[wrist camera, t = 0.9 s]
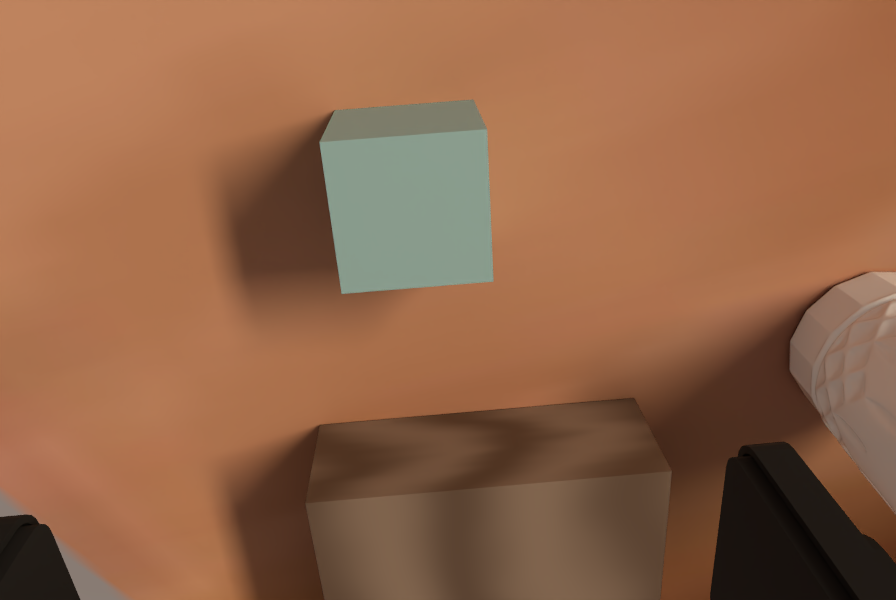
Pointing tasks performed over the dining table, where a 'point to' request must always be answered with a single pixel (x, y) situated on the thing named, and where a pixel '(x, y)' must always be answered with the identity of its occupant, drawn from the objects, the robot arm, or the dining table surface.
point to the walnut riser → (492, 505)
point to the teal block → (409, 196)
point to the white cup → (854, 372)
